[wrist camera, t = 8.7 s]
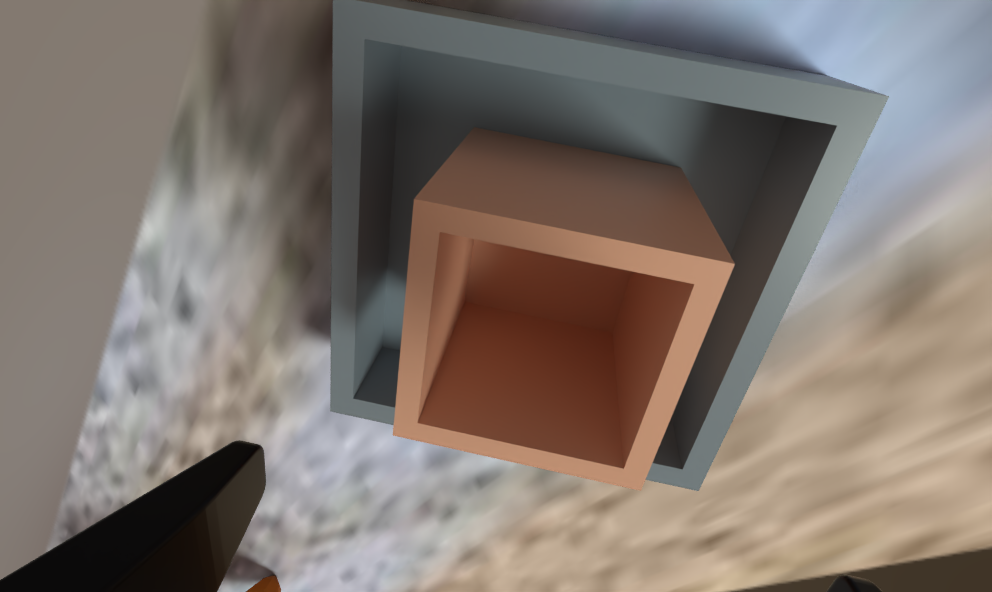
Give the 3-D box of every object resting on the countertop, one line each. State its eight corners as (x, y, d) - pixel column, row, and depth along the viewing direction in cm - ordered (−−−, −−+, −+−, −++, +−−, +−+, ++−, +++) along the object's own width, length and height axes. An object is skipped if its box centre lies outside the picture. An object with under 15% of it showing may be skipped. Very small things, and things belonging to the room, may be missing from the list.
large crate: (822, 74, 16) (888, 96, 13) (680, 413, 22) (698, 491, 19) (385, -5, 17) (332, -5, 13) (368, 348, 23) (330, 411, 20)
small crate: (680, 167, 17) (734, 263, 11) (624, 341, 20) (640, 490, 14) (474, 127, 17) (413, 198, 11) (449, 304, 20) (393, 435, 14)
